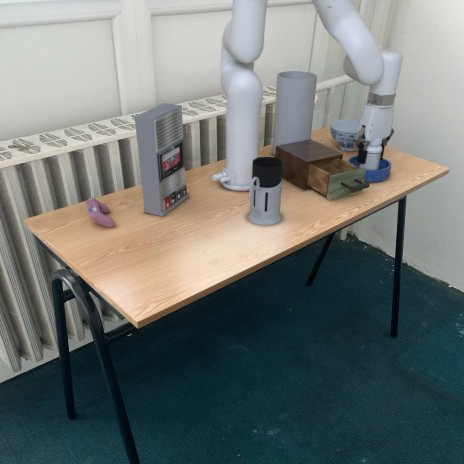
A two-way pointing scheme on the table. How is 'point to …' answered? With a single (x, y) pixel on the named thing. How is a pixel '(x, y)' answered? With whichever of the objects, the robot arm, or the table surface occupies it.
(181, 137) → the cassette tape recorder
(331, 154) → the cabinet
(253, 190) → the glass holder
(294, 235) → the table surface
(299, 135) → the cylinder vase
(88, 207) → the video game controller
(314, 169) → the drawer
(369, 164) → the pill bottle
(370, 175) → the bowl
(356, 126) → the chinaware
